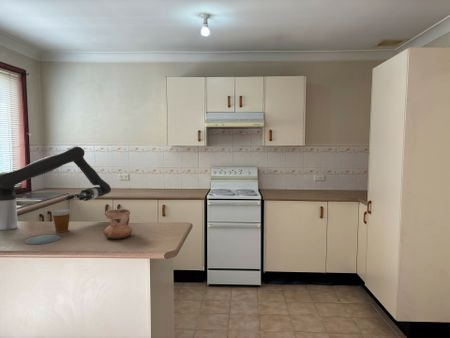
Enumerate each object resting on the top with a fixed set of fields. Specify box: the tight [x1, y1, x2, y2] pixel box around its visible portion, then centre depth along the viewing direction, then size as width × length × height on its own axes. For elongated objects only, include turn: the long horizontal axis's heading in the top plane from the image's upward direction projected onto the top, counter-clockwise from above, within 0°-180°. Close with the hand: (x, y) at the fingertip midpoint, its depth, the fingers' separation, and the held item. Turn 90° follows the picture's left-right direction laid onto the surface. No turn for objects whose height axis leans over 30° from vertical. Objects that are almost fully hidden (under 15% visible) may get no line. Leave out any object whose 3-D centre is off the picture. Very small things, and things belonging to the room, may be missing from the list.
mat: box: [24, 234, 61, 246], centre depth 169 cm, size 16×16×1 cm
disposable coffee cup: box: [51, 208, 71, 233], centre depth 186 cm, size 10×10×12 cm
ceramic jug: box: [103, 208, 133, 240], centre depth 174 cm, size 18×14×14 cm
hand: (73, 198), depth 196 cm, fingers open, 8 cm apart
